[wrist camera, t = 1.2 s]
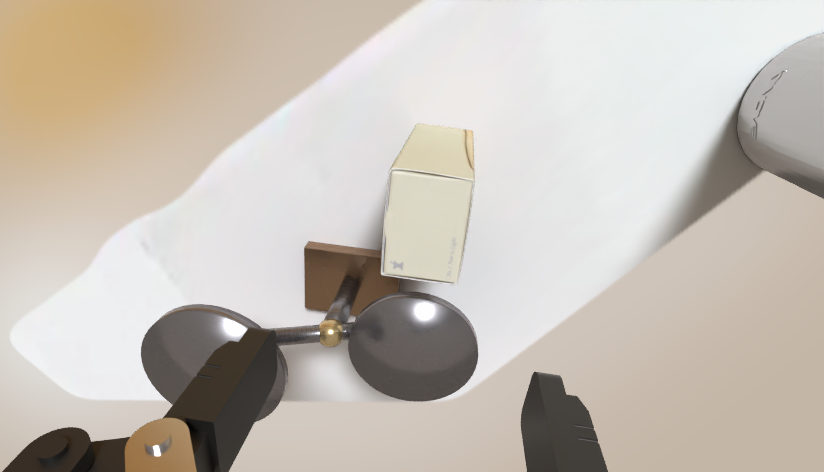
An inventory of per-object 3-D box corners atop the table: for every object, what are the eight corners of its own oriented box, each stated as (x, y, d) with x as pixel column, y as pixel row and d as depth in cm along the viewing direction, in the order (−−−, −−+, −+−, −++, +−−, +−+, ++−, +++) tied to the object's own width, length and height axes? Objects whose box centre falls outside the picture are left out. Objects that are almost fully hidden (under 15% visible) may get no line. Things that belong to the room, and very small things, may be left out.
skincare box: (460, 206, 35) (459, 291, 24) (404, 199, 35) (378, 279, 24) (473, 126, 32) (480, 179, 21) (413, 118, 32) (387, 167, 21)
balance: (482, 248, 36) (492, 354, 24) (466, 336, 40) (468, 463, 28) (233, 215, 37) (128, 302, 25) (241, 303, 41) (153, 414, 29)
